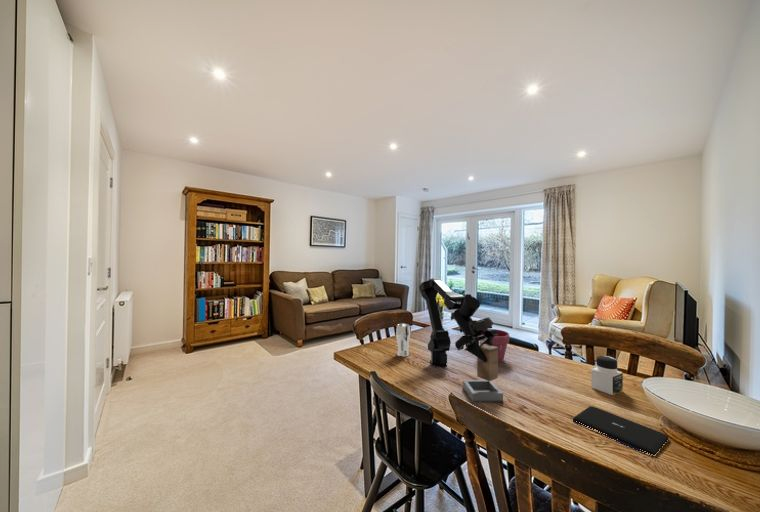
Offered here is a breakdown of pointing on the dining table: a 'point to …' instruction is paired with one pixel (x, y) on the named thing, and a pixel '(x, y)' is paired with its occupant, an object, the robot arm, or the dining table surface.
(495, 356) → the walnut block
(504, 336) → the plant pot
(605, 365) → the medicine bottle
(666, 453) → the dining table surface
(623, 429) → the laptop
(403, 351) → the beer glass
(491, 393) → the holder box
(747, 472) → the dining table surface
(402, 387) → the dining table surface
